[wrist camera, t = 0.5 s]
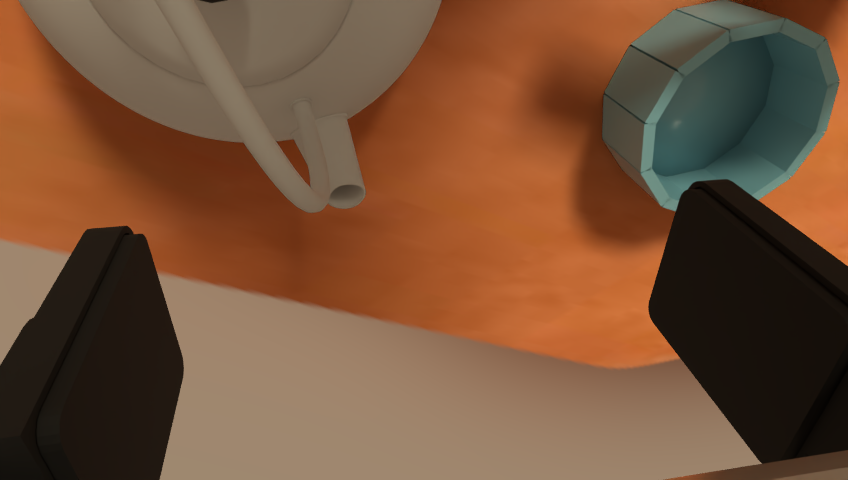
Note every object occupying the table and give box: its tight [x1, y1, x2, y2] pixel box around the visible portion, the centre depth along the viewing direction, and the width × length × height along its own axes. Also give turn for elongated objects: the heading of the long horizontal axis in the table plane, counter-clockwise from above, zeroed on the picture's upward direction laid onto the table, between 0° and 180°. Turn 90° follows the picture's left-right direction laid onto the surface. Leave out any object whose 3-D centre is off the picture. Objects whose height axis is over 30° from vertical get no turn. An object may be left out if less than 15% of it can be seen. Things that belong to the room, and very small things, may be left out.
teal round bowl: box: [602, 0, 840, 211], centre depth 41 cm, size 14×14×6 cm
